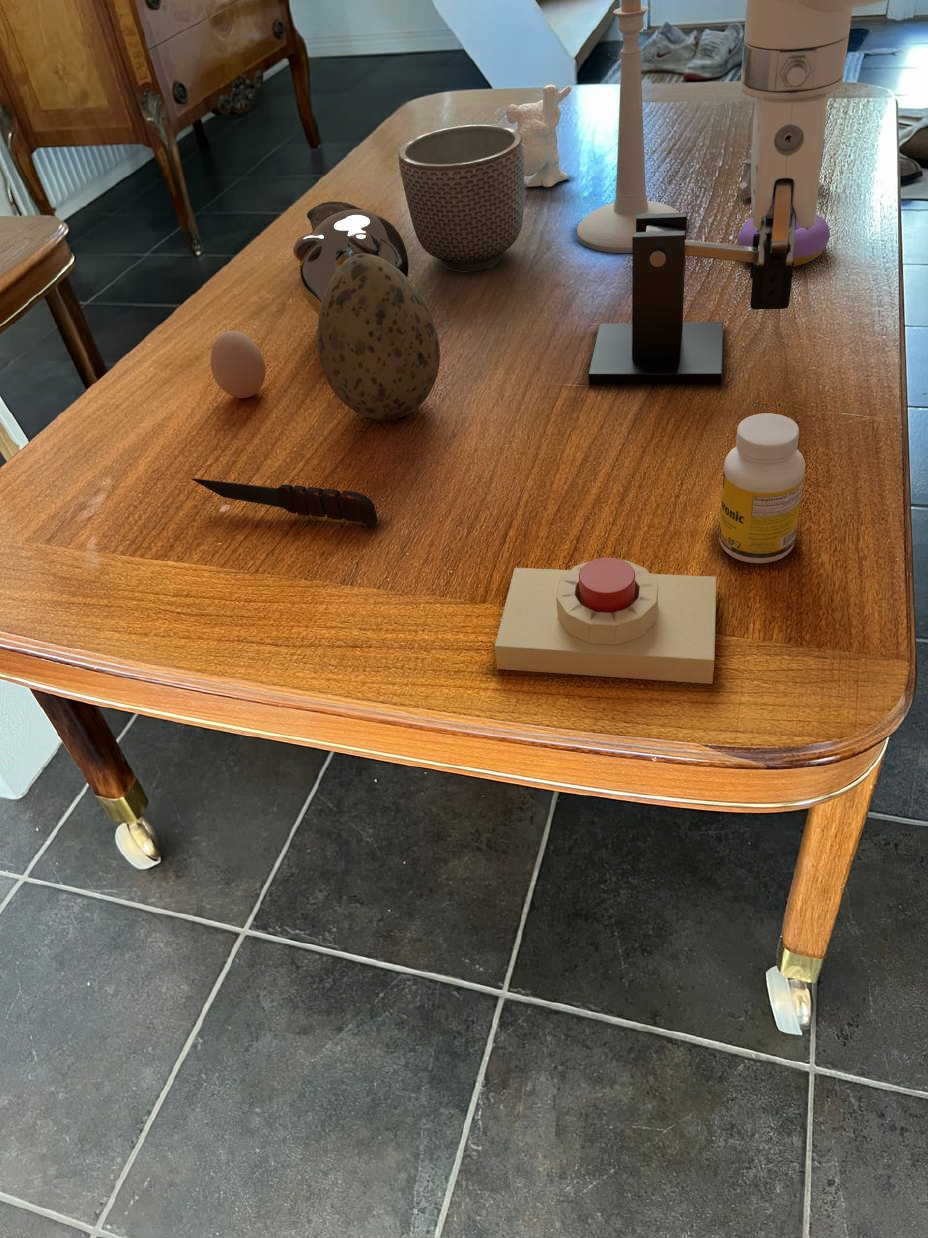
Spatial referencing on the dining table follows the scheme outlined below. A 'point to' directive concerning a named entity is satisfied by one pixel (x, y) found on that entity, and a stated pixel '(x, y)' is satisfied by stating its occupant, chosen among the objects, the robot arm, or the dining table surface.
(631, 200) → the candlestick
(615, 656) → the power block
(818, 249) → the donut
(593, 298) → the dining table surface
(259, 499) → the knife
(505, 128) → the planter
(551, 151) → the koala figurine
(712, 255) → the lever
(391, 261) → the piggy bank
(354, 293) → the decorative egg
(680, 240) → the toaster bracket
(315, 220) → the seashell
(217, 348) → the egg
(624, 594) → the button
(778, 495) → the supplement bottle
